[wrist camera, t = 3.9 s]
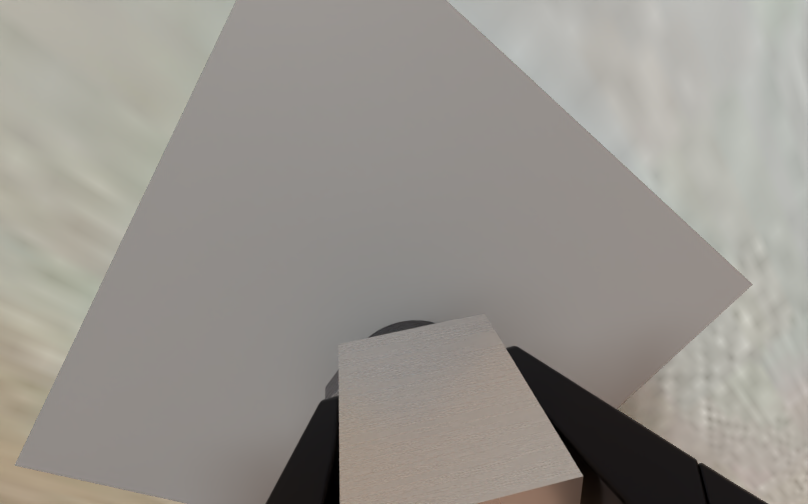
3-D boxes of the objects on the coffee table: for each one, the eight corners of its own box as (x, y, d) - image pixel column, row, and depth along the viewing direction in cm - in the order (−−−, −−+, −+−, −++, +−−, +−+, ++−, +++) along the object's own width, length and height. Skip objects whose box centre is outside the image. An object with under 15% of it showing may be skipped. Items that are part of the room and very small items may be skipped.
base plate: (445, 541, 22) (452, 570, 20) (34, 440, 14) (5, 476, 13) (729, 272, 16) (762, 289, 15) (303, -114, 9) (299, -145, 8)
